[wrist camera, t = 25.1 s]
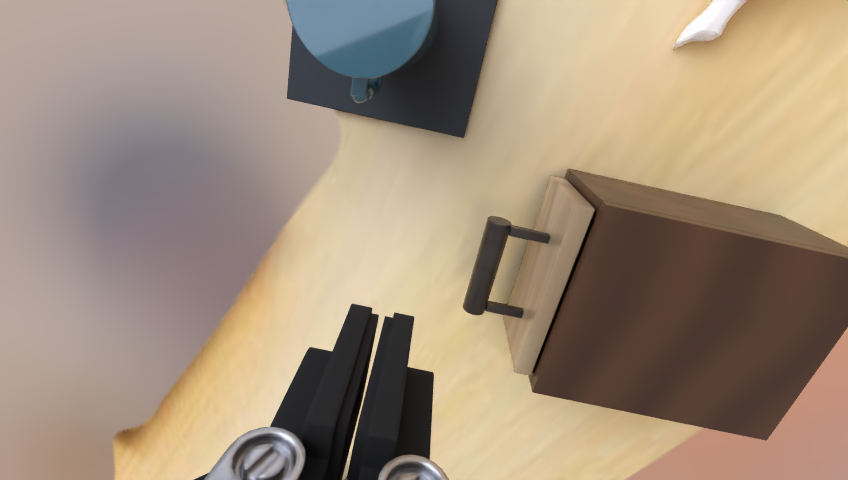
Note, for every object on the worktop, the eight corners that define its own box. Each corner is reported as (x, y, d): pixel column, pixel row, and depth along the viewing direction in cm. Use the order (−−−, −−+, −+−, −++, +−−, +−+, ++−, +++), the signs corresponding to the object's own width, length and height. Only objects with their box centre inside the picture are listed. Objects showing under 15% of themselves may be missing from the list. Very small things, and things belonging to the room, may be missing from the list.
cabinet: (514, 320, 38) (532, 392, 30) (567, 168, 32) (607, 205, 24) (699, 359, 38) (766, 440, 30) (781, 215, 33) (891, 267, 25)
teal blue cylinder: (351, -48, 27) (291, -111, 17) (450, -25, 27) (450, -74, 17) (335, 82, 30) (277, 94, 20) (424, 102, 30) (412, 124, 20)
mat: (307, -121, 26) (304, -125, 26) (514, -72, 27) (515, -75, 26) (289, 98, 31) (286, 98, 31) (463, 136, 32) (463, 138, 31)
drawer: (453, 307, 36) (454, 360, 30) (493, 162, 31) (504, 189, 25) (680, 355, 37) (728, 416, 31) (754, 220, 32) (829, 260, 26)
